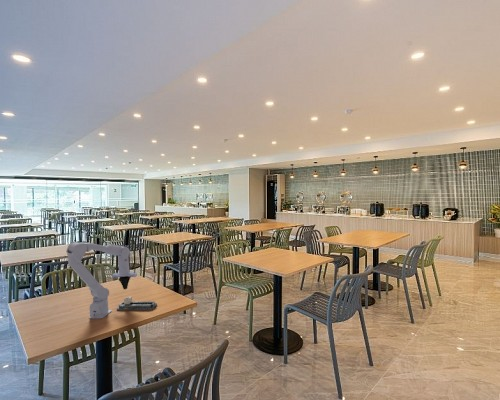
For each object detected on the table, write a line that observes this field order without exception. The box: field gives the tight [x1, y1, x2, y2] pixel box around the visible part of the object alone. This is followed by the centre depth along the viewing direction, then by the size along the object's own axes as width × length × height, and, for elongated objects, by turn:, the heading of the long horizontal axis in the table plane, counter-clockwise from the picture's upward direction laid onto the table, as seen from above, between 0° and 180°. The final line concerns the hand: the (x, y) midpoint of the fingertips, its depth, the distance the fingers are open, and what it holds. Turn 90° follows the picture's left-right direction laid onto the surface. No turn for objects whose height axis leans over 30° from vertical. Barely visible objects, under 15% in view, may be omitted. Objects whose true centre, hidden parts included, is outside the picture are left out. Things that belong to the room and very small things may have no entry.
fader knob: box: [123, 296, 133, 305], centre depth 165 cm, size 4×3×5 cm
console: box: [116, 300, 158, 312], centre depth 165 cm, size 8×21×3 cm, turn 85°
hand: (125, 288), depth 169 cm, fingers closed
